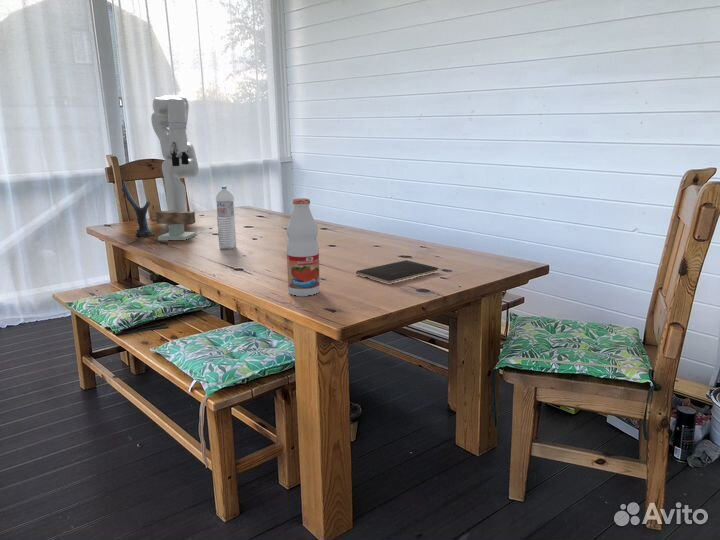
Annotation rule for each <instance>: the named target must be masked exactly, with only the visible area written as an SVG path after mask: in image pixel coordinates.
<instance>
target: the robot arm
mask: <svg viewBox="0 0 720 540" xmlns="http://www.w3.org/2000/svg"><path fill="white" fill-rule="evenodd" d="M189 108H190V107H189V101H188V99H187V98H186V96H184V95H173V94H172V95H171V94H170V95H167V94H166V95H162V96H159V97H154V98H153V100H152V109H153V113H152V114H151V117H150V121H151V125H152V129H153V131H154V133H155V135H156V137H157V138H158V140H159V144H160V150H161V155H162V158H163V159H164V160H163V161H162V164H161V172H162V174H163V179H164V185H165V196H166V208H167V209H166V211H188V205H187V204H188V202H187V192H186V186H185V184H184V182H182V181H181V180H180V179H186V178H187V179H189V178H196V177H198V175H199V171H200V170H199V169H200V168H199V163H198V160H197V155H196V151H195V148H194V146H193V145H194V144H192V143H191V142H188V138H187V137H188V135H187V125H188V119H189V118H188V117H189V110H190V109H189Z"/></svg>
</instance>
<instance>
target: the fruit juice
mask: <svg viewBox="0 0 720 540" xmlns="http://www.w3.org/2000/svg"><path fill="white" fill-rule="evenodd" d="M292 205H293V211H292V214H291V217H290V220H289V222H288V224H287V225H286V236H287V238H288V241H287V244H286V267H287V269H286V270H287V289H288V293H289V295H291V294H292V295H291V296H294V295H296V296H295V297H309V296H308V295H312V296H314V295H313V294H315V295H317V294H319V293H318V292H320V290H321V288H320V287H321V286H320V283H321V282H320V250H319V249H320V247H319V242H318V240H317V237H318V234H319V233H318V232H319V230H318V229H319V228H318V225H317V223H316V221H315V219H314V217H313V215H312V210H311V208H310V205H311V200H310V198H294V199H292ZM316 293H317V294H316Z"/></svg>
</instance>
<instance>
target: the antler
mask: <svg viewBox="0 0 720 540" xmlns="http://www.w3.org/2000/svg"><path fill="white" fill-rule="evenodd" d="M120 189H121V191H122V192H123V193H124V195H125V197H126V199H127V201H128V202H129V203H130V205H131V206H132V208H133V209H134V212H135V215H136V217H137V220H136V221H137V225H138V229H136V234H135V235H136V236H135V237H137V236H140V237H139V238H142V237H141V236H146V237H150V236H153V235H154V233H153V230H150V229H149V225H148V221H147V213H148V209H149V207H150V206H151V204H152V203H151V202H150V201H146V203H145V204H144V206H142V207H140V206H139V205H138V203H137V202H136V200H135V199H134V197H133V196H132V194H131V192H130V190H129V187H128V184H127V183H126V180H123V182H122V188H120Z"/></svg>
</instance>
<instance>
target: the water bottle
mask: <svg viewBox="0 0 720 540" xmlns="http://www.w3.org/2000/svg"><path fill="white" fill-rule="evenodd" d="M234 198H235V197H234V195H233V194H232V193H231V192H230V191H229V190H227V185H222V186H221V190H220V191H219V192H218V193H217V195H216V196H215V201H216V202H215V203H216V215H217V217H216V218H217V220H216V221H217V233H218V247H219V249H220V250H222V249H231V250H235V249H236V248H237V236H236V235H237V233H236V219H235V217H236V216H235V208H234V207H235V204H234V201H235V200H234ZM234 248H235V249H234Z"/></svg>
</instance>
